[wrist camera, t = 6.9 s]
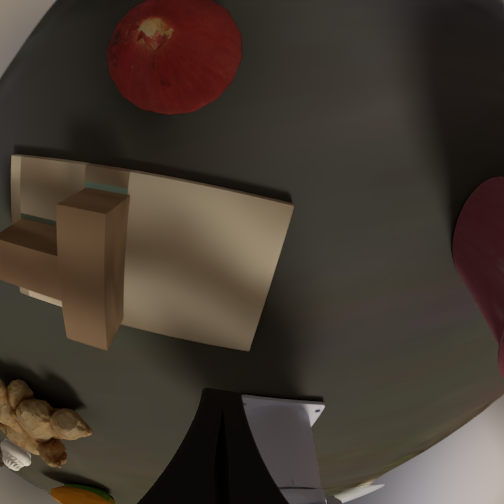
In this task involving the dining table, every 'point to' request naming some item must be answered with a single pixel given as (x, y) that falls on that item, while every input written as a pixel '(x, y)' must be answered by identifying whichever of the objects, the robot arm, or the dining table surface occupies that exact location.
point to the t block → (75, 262)
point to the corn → (81, 495)
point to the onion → (174, 54)
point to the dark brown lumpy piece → (0, 455)
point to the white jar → (14, 455)
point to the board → (173, 245)
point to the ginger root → (38, 423)
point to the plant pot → (484, 254)
